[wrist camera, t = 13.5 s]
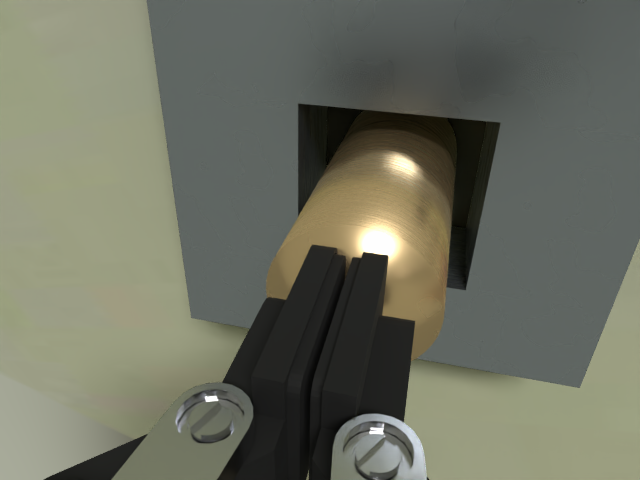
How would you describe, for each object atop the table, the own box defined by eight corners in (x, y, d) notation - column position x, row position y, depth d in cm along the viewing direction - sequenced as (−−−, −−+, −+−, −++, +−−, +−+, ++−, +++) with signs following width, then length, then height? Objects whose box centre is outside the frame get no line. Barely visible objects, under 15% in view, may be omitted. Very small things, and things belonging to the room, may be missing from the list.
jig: (830, -476, 10) (1000, -660, 7) (561, 312, 21) (579, 388, 18) (173, -412, 13) (72, -524, 10) (230, 261, 24) (191, 317, 20)
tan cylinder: (466, 102, 18) (458, 241, 10) (447, 207, 20) (431, 385, 12) (348, 91, 18) (262, 213, 11) (343, 193, 21) (268, 353, 13)
